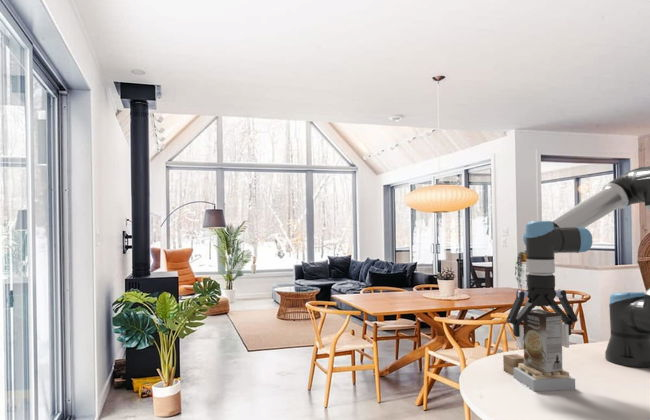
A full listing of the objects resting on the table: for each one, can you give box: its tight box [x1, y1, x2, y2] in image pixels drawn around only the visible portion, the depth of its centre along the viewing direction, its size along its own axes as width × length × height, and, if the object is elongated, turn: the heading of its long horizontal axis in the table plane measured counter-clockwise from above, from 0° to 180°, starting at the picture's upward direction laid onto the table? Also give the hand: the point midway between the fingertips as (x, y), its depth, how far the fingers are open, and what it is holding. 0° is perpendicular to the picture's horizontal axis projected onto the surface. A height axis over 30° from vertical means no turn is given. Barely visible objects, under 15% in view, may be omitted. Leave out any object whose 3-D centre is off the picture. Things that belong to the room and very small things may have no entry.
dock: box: [513, 367, 576, 392], centre depth 140 cm, size 12×12×3 cm
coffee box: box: [522, 308, 563, 373], centre depth 140 cm, size 9×6×16 cm
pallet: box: [518, 363, 570, 379], centre depth 140 cm, size 10×10×2 cm
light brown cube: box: [502, 353, 524, 376], centre depth 150 cm, size 5×5×5 cm
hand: (542, 347), depth 140 cm, fingers open, 13 cm apart
